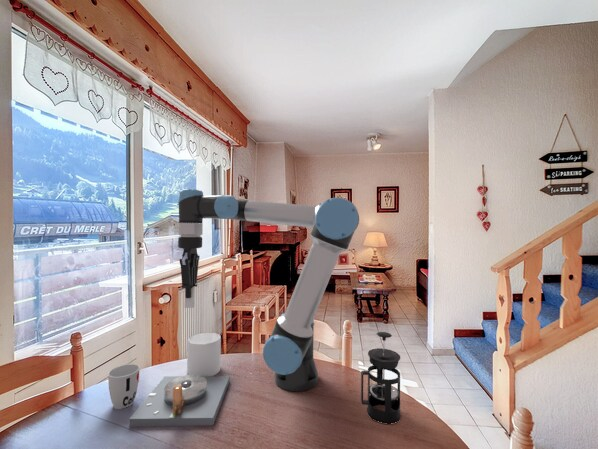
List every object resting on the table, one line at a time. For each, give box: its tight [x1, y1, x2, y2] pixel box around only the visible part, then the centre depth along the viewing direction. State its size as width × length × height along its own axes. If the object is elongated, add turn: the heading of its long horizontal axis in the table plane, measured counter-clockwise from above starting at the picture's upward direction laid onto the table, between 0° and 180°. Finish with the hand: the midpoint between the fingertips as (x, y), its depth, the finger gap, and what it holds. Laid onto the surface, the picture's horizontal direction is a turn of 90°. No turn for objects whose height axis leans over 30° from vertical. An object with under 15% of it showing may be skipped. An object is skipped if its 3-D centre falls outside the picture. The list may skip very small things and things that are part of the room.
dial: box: [164, 374, 207, 414], centre depth 86 cm, size 16×12×6 cm
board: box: [128, 375, 231, 427], centre depth 88 cm, size 22×22×2 cm
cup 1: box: [107, 363, 140, 410], centre depth 87 cm, size 8×8×10 cm
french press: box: [360, 331, 402, 425], centre depth 84 cm, size 12×9×23 cm
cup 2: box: [186, 332, 222, 376], centre depth 107 cm, size 12×12×12 cm
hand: (189, 307), depth 97 cm, fingers closed
